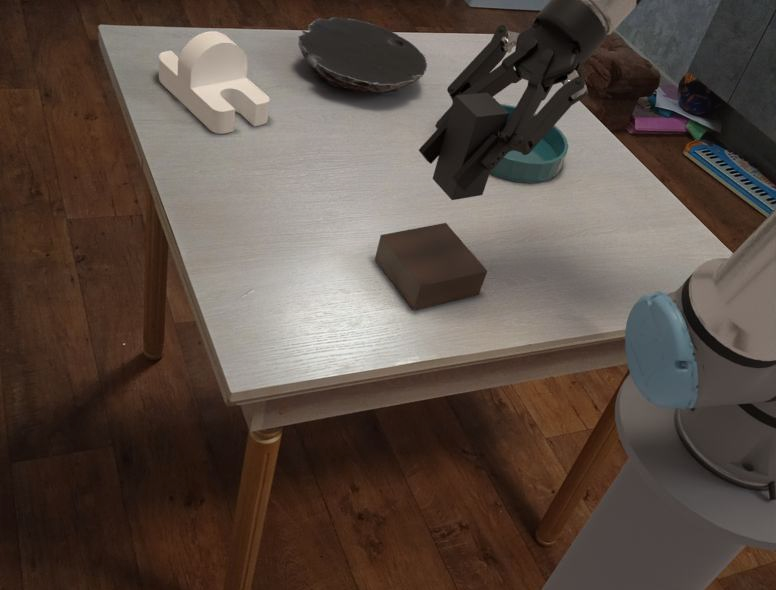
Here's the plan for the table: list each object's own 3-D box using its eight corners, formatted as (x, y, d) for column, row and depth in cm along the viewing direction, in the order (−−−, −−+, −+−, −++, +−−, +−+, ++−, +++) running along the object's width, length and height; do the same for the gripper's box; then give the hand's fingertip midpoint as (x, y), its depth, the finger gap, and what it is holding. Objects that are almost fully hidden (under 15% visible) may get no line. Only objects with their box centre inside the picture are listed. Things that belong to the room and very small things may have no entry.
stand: (478, 294, 106) (487, 270, 103) (413, 310, 101) (420, 285, 98) (438, 246, 111) (445, 222, 108) (374, 259, 106) (380, 234, 104)
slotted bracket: (153, 75, 127) (153, 13, 120) (207, 65, 133) (210, 5, 126) (215, 135, 119) (219, 72, 112) (271, 122, 124) (278, 61, 118)
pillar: (482, 195, 99) (510, 112, 91) (451, 200, 96) (477, 116, 89) (462, 174, 101) (487, 92, 93) (432, 178, 99) (455, 95, 91)
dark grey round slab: (401, 48, 151) (407, 21, 147) (437, 112, 137) (445, 84, 133) (282, 40, 144) (286, 12, 140) (308, 107, 130) (312, 77, 126)
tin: (581, 175, 132) (589, 156, 130) (496, 189, 124) (503, 169, 122) (520, 118, 142) (526, 99, 139) (437, 128, 133) (442, 108, 131)
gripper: (650, 71, 91) (504, 228, 94) (534, -1, 100) (403, 144, 102) (641, 31, 85) (485, 201, 87) (518, -43, 93) (378, 114, 95)
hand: (441, 170), depth 94 cm, fingers closed on pillar, 5 cm apart
